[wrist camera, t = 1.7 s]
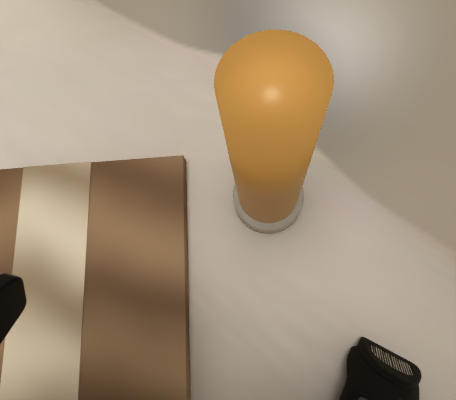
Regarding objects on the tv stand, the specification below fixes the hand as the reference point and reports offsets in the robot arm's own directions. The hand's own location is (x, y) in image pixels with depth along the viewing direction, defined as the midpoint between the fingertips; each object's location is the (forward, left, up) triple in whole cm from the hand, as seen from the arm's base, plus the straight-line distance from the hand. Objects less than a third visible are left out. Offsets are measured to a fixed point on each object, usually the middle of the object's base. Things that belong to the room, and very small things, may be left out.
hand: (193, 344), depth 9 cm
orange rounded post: (+7, -2, -13) cm, 15 cm away
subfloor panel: (+2, +9, -13) cm, 16 cm away
